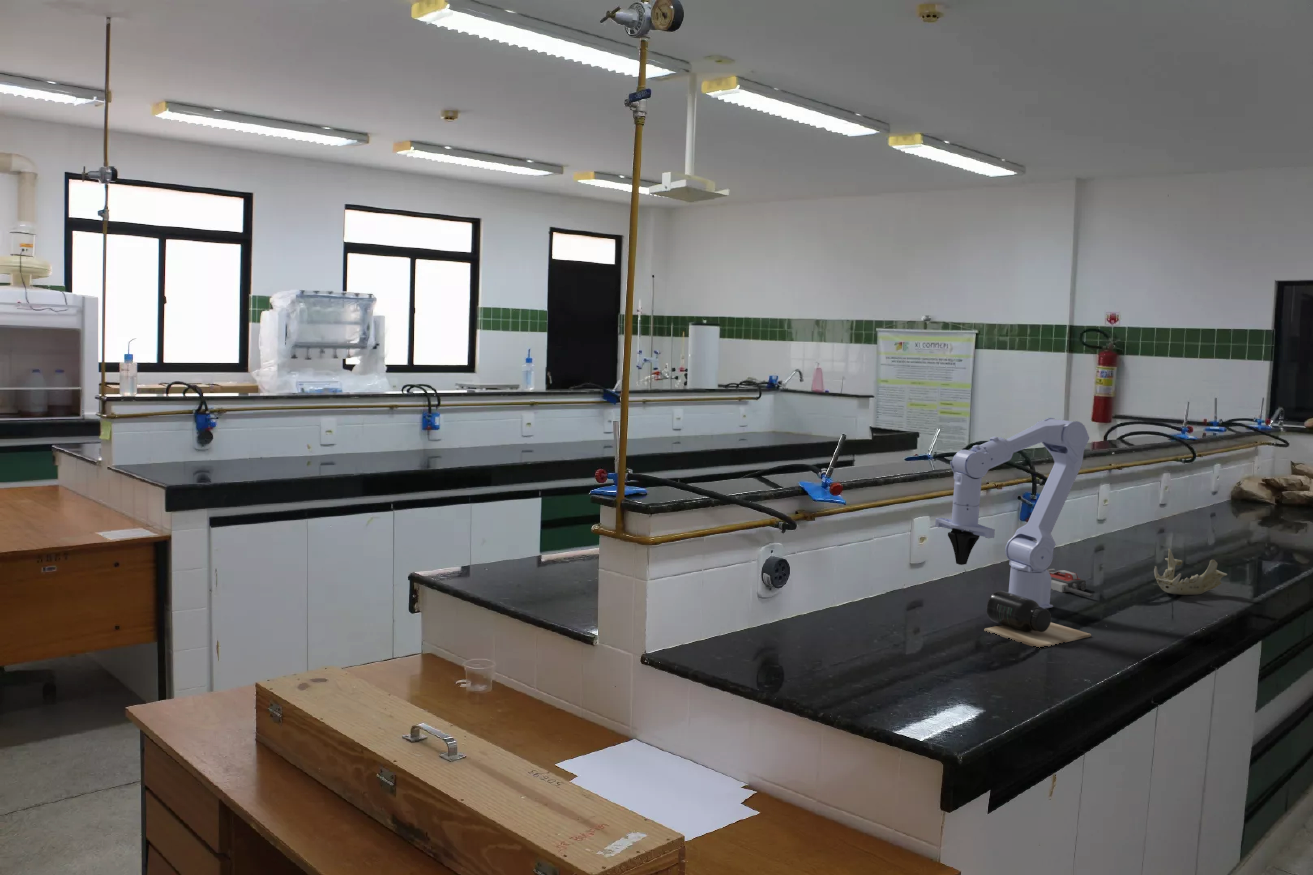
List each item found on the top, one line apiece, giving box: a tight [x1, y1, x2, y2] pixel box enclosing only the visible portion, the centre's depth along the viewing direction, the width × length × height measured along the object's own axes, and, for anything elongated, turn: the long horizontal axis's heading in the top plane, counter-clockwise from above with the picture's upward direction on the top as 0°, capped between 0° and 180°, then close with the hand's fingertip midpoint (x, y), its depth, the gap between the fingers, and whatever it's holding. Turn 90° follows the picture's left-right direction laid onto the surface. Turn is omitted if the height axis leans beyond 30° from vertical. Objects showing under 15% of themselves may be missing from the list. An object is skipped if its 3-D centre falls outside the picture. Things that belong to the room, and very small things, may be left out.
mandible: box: [1153, 548, 1228, 596], centre depth 248 cm, size 19×16×10 cm
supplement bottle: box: [986, 590, 1052, 632], centre depth 207 cm, size 7×7×12 cm
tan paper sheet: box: [983, 621, 1092, 649], centre depth 206 cm, size 18×13×1 cm
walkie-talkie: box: [1046, 568, 1094, 598], centre depth 247 cm, size 9×4×20 cm
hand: (961, 563), depth 222 cm, fingers closed
